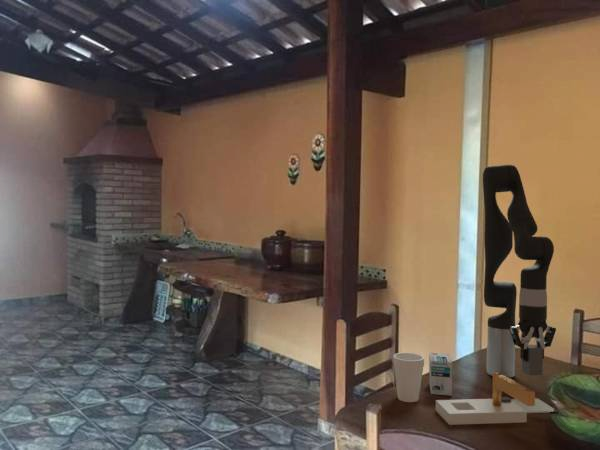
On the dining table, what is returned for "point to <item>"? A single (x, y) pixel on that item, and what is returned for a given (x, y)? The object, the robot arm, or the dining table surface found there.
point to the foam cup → (408, 375)
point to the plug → (533, 361)
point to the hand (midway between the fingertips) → (531, 360)
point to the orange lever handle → (511, 390)
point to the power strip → (480, 411)
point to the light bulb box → (440, 374)
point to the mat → (538, 408)
